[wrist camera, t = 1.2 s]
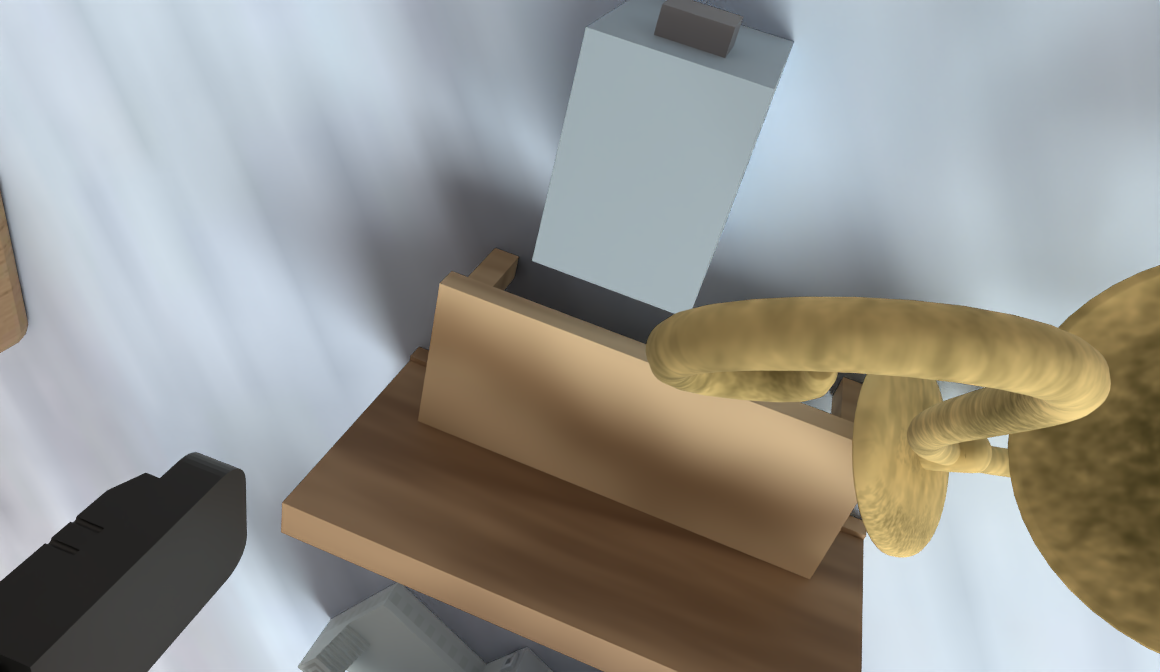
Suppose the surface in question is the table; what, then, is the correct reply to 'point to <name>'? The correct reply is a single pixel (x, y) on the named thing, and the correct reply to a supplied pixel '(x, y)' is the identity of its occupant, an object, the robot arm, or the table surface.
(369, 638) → the castle model
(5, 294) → the block
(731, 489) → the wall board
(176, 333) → the table surface
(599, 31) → the grey rectangular box
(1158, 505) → the wall sconce
